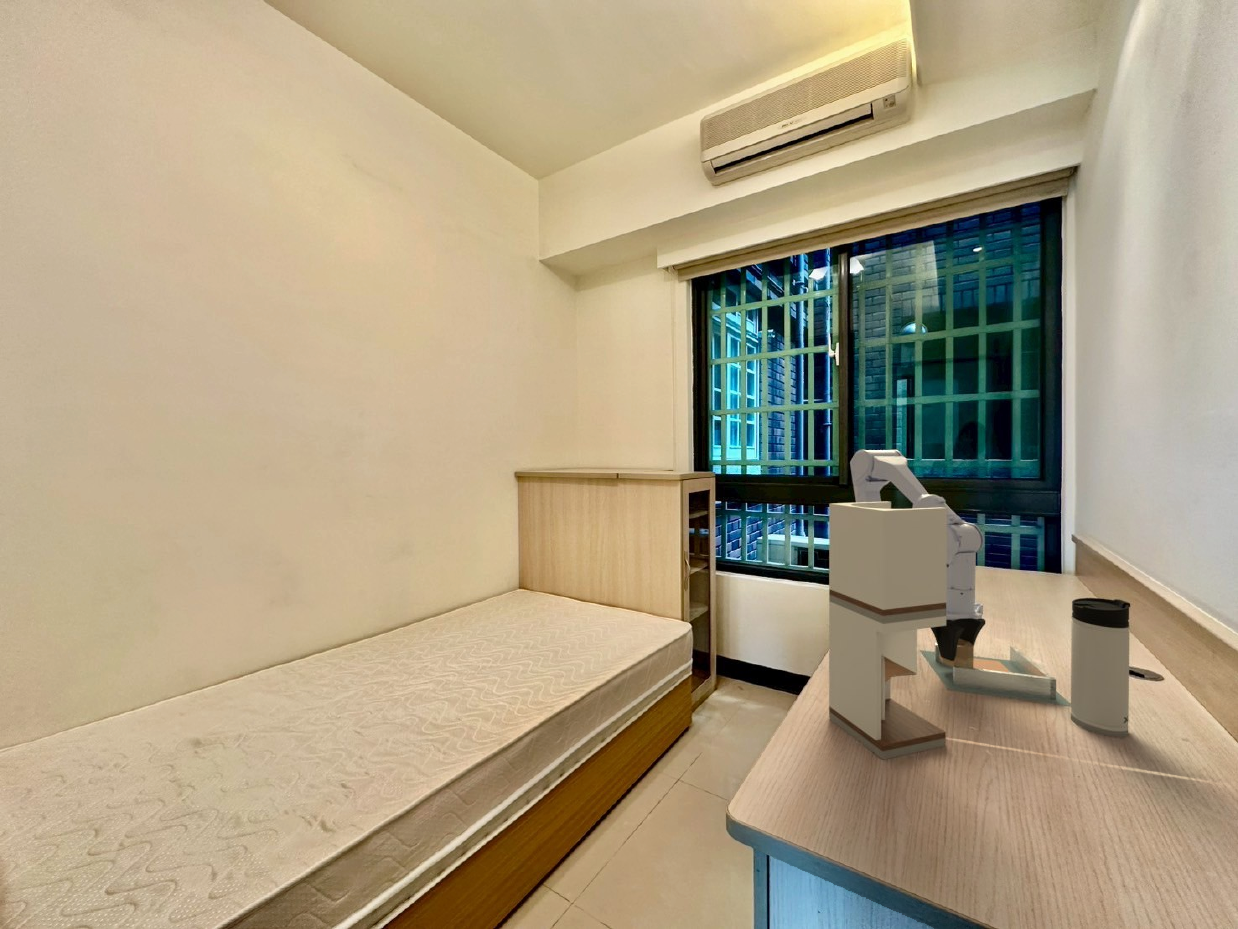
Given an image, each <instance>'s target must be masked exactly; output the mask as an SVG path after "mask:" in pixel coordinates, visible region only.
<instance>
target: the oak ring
mask: <svg viewBox="0 0 1238 929" xmlns="http://www.w3.org/2000/svg"><path fill="white" fill-rule="evenodd" d="M974 647H975V645H974V646H973V645H972V644H971V643H970V642H968V641H965V640H962V639H959V640H958V644H957V651H956V657H955V660H954V661H950V660H947V659H945V658H942V657H941V655H940V652H939V659H940V661H941V662H942V663H943V664H946V665H949V666H951V667H953V666H961V667H969V668H972V667H973V660H974V656H975V654H974V652H975V651H974Z"/></svg>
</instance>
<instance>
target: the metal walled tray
mask: <svg viewBox="0 0 1238 929" xmlns="http://www.w3.org/2000/svg"><path fill="white" fill-rule="evenodd" d="M1009 647H1010V648H1009V660H1010V664H1012V665H1013V666H1014V667H1015V668H1016V669H1017V670H1018V671H1019V672H1021V673H1022V674H1019V673H1010V672H1002V671H994V670H986V669H977V668H969V667H961V666H953V685H954V686H955V687H963V688H970V689H978V690H985V691H993V692H1000V693H1008V694H1015V695H1023V696H1030V697H1038V698H1045V699H1053V700H1056V691H1057V679H1056V678H1055V677H1054V676H1052V675H1051V674H1050V673H1048V672H1047V671H1046V670H1045V669H1043V668H1042V667H1041V666H1039V664H1037V663H1036V662H1035V661H1034V660H1032V658H1030V657H1029V656H1027V655H1026V654H1025V653H1024V652H1022V651H1021V650H1020V649H1019V648H1018V647H1016V646H1015V645H1010V646H1009ZM934 652H935V661H936V662H941V661H940V659H939V648H938V644H937V642H935V643H934Z"/></svg>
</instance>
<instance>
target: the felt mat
mask: <svg viewBox="0 0 1238 929" xmlns="http://www.w3.org/2000/svg"><path fill="white" fill-rule="evenodd" d="M919 651H920V653H921V654H922V655H923V657H924V658H925V660H926V661H927V663H928V664H929V666H930V667H931V668H932V669H933V671H934V672H935V674H936V676H938V678H939V679H940V681H941V682H942V683H943V685H944V686H945V688H946V689H947V690H948V691H955V692H961V693H967V694H968V693H969V694H975V695H976V694H977V695H982V696H990V697H999V698H1006V699H1015V700H1019V701H1020V700H1021V701H1028V702H1033V703H1034V702H1037V703H1043V704H1049V705H1058V706H1064V707H1071V701H1070V702H1069V700H1067V699H1066V698H1065V697H1064V696H1063V695H1061V693H1059V692H1058V691H1057V690H1056V700H1053V699H1045V698H1038V697H1030V696H1023V695H1015V694H1008V693H1000V692H993V691H985V690H978V689H970V688H963V687H955V686H954V685H953V667H951V666H949V665H946V664H943V663H942V662H936V661H935V651H931V650H923V649H920V650H919ZM974 658H975V659H984V660H992V661H999V662H1001V663H1002V664H1003V665H1004V666H1005V667H1006V668H1007V669H1008V670H1009V671H1010V672H1011V673H1019V674H1022V673H1021V672H1019V671H1018V670H1017V669H1016V668H1015V667H1014V666H1013V665H1012V664H1010V659H1009V660H1008V659H1001V658H993V657H985V656H982V657H981V656H975V655H974Z"/></svg>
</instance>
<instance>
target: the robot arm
mask: <svg viewBox="0 0 1238 929" xmlns="http://www.w3.org/2000/svg"><path fill="white" fill-rule="evenodd" d="M849 464H850V471H851V480H852V485H853V491H854V497H855V503H859V502H882V499H881V493H880V491H881V490H882V489H883V487H885V486H886V485H888V484H889V483H890V482H891V483H892V484H893V485H894V486H895V487H896V488H897V489H898V490H899V491H900V492H901V493H902V494H903V495H904V496H905V497H906V498H907V499H908V501H910V503H912V508H911V509H915V508H938V507H942V508H947V570H946V626H939V627H931V628H930V630H931V631H932V634H933V636H934V638H935V641H936V643H937V644H938V648H939V652H940V655H941V657H942V658H945V659H947V660H950V661H954V660H955V657H956V651H957V644H958V640H959V639H962V640H965V641H968V642H970V643H971V644H972V645H973V646H974V647H975V644H976V641H977V638H978V636H979V634H980V632H981V630H982V629H983V627H984V626H985V625H986V620H985V619H984V618H982V617H983V614H984V604H980V603H977V602H976V567H977V565H976V557H977V556H976V555H977V554H976V553H979V552H981V550H982V549H983V547H984V544H985V538H984V535H983V533H982V531H981V530H980V528H979V527H978V526H977V525H976V524H974V523H971V522H966V520H964V519H962V518H961V517H960V516H959V515H958V514H956V512H955V511H954V510H952V509H951V508H950V507H949V506H948V504H947V503H946V501H947V500H946V499H945V498H944V497H943V496H939V495H937V494H929V492H927V490H926V489H925V487H924V486H923V485H922V484H921V483H920V481H919V480H918V478H917V477H916V476H915V475H914V474H913V472H912V471H911V470H910V468H909V467H908V458H906V457H905V456H904V455H903V454H902V452H901V451H899V450H898V449H887V450H886V449H883V450H882V449H880V450H879V449H878V450H875V449H873V450H872V449H869V450H866V449H859V450H857V451H856V452H855V453H854V455H853V457H852V458H851V460H850V462H849Z"/></svg>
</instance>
